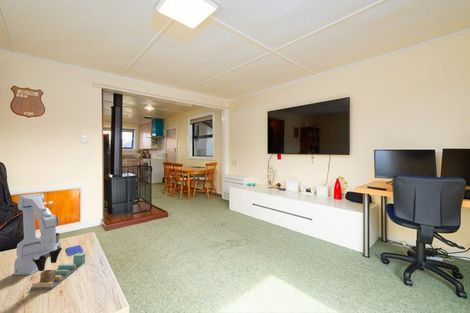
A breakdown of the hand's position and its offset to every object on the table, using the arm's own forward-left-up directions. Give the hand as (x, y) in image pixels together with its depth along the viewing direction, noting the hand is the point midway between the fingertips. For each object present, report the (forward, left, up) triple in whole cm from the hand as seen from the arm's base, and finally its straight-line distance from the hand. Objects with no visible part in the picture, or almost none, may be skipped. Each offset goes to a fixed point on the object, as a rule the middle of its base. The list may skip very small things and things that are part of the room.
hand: (47, 266), depth 106 cm
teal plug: (+3, +20, -10) cm, 23 cm away
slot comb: (0, +5, -10) cm, 11 cm away
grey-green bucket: (-26, +35, -10) cm, 45 cm away
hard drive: (-12, +39, -10) cm, 42 cm away
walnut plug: (0, 0, -8) cm, 9 cm away
